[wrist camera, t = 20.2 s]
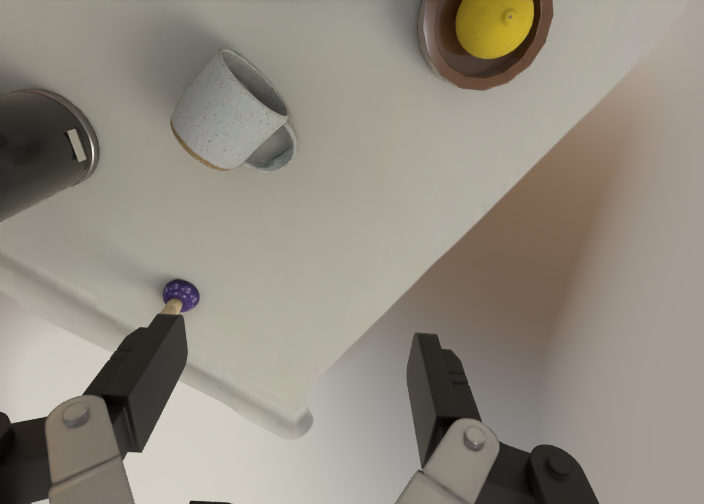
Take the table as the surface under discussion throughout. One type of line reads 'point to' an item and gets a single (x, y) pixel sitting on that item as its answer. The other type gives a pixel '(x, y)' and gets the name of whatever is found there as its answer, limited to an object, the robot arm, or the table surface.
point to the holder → (461, 65)
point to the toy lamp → (179, 297)
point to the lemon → (493, 26)
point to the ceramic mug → (231, 115)
